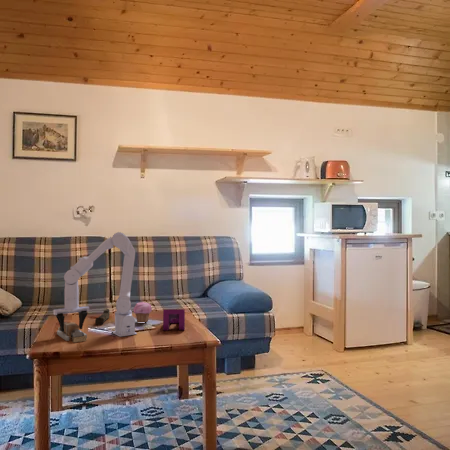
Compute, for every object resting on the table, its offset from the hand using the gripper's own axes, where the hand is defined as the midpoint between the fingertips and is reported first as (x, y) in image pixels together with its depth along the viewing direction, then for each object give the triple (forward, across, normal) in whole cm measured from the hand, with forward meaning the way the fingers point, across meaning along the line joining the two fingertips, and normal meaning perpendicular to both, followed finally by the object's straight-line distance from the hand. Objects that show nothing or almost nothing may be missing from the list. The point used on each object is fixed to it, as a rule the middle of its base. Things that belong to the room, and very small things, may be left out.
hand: (71, 329), depth 194 cm
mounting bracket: (+3, +44, -10) cm, 45 cm away
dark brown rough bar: (+3, +22, +22) cm, 31 cm away
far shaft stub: (+3, 0, +8) cm, 8 cm away
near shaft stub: (+3, 0, -8) cm, 8 cm away
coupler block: (+3, 0, 0) cm, 3 cm away
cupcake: (+3, +36, +7) cm, 37 cm away
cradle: (+3, 0, 0) cm, 3 cm away
